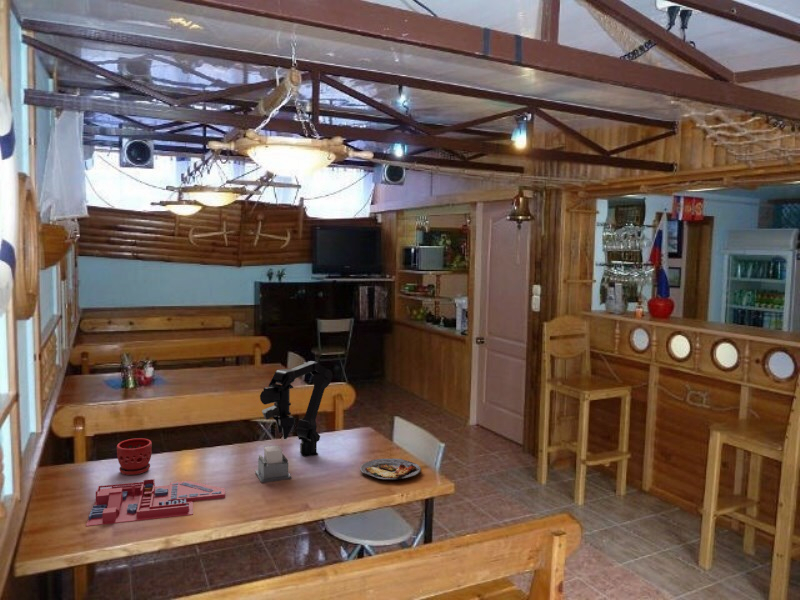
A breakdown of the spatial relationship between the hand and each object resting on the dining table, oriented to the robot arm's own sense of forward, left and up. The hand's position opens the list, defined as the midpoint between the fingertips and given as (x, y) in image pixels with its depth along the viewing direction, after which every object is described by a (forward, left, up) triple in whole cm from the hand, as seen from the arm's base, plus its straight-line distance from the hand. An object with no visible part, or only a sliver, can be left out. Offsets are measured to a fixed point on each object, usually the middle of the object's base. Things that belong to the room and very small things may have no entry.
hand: (282, 435), depth 263 cm
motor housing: (+7, +13, -12) cm, 19 cm away
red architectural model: (+50, +23, -13) cm, 57 cm away
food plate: (-39, +27, -12) cm, 49 cm away
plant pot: (+58, -12, -12) cm, 60 cm away
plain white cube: (+7, +13, -6) cm, 16 cm away
